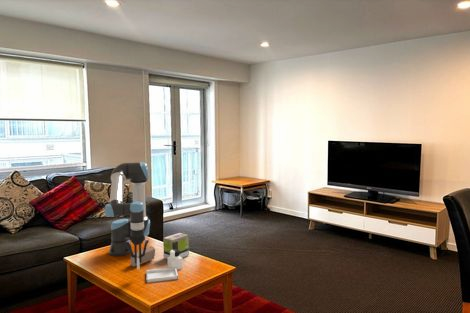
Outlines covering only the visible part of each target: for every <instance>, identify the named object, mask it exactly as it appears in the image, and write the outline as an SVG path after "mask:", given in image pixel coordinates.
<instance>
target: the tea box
mask: <svg viewBox="0 0 470 313" xmlns="http://www.w3.org/2000/svg"><path fill="white" fill-rule="evenodd" d="M162 240H163V242H162V245H163V258H164V259H165V260H167V258H168V257H170V251H171V250H173V249H178V250H179V251H180V257H182V258H185V257H187V256H190V242H189V240H190V238H189V234H187V233H181V232H178V233H175V234H170V235H167V236H165V237H163V239H162Z"/></svg>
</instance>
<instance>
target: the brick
mask: <svg viewBox="0 0 470 313" xmlns="http://www.w3.org/2000/svg"><path fill="white" fill-rule="evenodd" d="M133 254H134V255H135V252H133ZM141 254H143V249H141ZM155 256H156V248H155V247H154V246H152V245H150V246H147V247H146V251H145V256H143V257H142V258H141V261H142V262H141V263H140V265H142V264H145V263H148V262H150V261H153V260H154V259H155ZM137 257H139V250H137ZM129 262H130V265H131V267H133V268H134V267H137V263H135V258H133V257H131V256H130V260H129Z"/></svg>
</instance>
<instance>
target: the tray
mask: <svg viewBox="0 0 470 313" xmlns="http://www.w3.org/2000/svg"><path fill="white" fill-rule="evenodd" d="M145 272H146V273H145V275H146V276H145V277H146V284H148V283H155V282H156V283H157V282H166V281H173V280H175V281H176V280H179V274H178V270H177V269H176V267H174V268H168V267H165V268H155V269H153V268H152V269H147V270H146V271H145Z"/></svg>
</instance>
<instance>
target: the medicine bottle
mask: <svg viewBox="0 0 470 313" xmlns="http://www.w3.org/2000/svg"><path fill="white" fill-rule="evenodd" d="M183 258H184V257H180V251H179V250H178V249H173V250H171V251H170V257H168V258H167V259H166V260H167V268H174V267H176V269H177V271H179V270H181V269H183V268H184V266H183V264H184V263H183V261H184V260H183Z"/></svg>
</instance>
